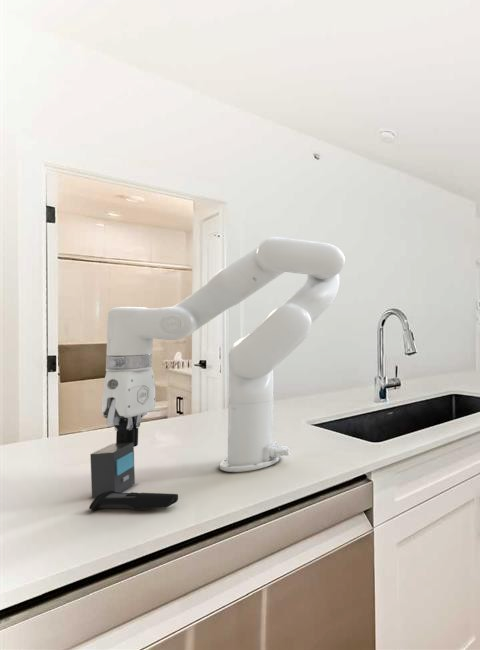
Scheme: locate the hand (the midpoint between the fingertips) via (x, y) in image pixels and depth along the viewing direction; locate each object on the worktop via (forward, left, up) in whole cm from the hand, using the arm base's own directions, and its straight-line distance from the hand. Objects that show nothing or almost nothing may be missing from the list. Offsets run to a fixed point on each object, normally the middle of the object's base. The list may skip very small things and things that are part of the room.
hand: (127, 447), depth 93 cm
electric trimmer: (-10, +14, -8) cm, 19 cm away
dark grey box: (0, +4, -8) cm, 9 cm away
